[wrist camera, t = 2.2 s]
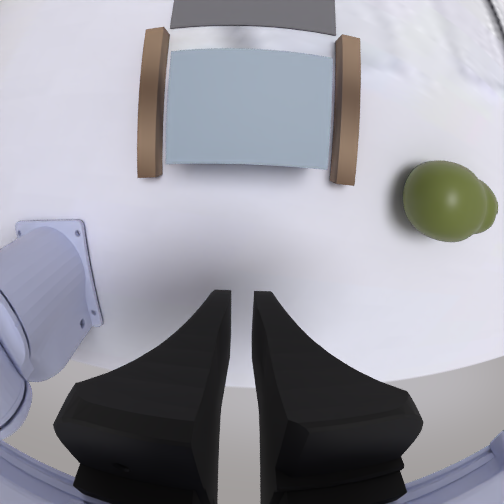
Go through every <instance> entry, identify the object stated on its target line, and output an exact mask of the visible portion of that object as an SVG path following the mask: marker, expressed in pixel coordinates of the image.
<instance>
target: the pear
mask: <svg viewBox="0 0 504 504" xmlns="http://www.w3.org/2000/svg"><path fill="white" fill-rule="evenodd" d="M403 205H404V209H405V213H406V215H407V218H408V219H409V221H410V223H411V224H412V225H413V226H414V227H415V228H416V229H417V230H418V231H419V232H421V233H422V234H424V235H426V236H428V237H430V238H432V239H435V240H439V241H444V242H459V241H462V240H465V239H467V238H468V237H470V236H471V235H473V234H478V233H481V232H484V231H486V230H487V229H489V228H490V227H491V226H492V224H493V223H494V220H495V217H496V214H497V213H498V202H497V200H496V197H495V195H494V193H493V192H492V190H491V189H490V188H489V187H488V186H487V185H486V184H485V183H484V182H482V181H481V180H479V179H478V178H477V177H476V176H475V174H474V173H473V172H471V171H470V170H469V169H467V168H466V167H464V166H462V165H459V164H456V163H453V162H448V161H429V162H425V163H422V164H420V165H419V166H417V167H416V168H415V169H414V170H413V171H412V172H411V173H410V175H409V176H408V178H407V180H406V183H405V186H404V190H403Z"/></svg>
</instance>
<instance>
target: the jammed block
mask: <svg viewBox="0 0 504 504" xmlns="http://www.w3.org/2000/svg"><path fill="white" fill-rule="evenodd" d="M332 74H333V58H330V57H324V56H318V55H312V54H305V53H297V52H288V51H277V50H263V49H235V48H221V49H193V50H180V51H171V59H170V70H169V84H168V100H167V122H166V164H194V163H208V164H251V165H272V166H288V167H301V168H313V169H323V170H328V159H329V145H330V129H331V109H332Z"/></svg>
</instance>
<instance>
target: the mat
mask: <svg viewBox="0 0 504 504" xmlns="http://www.w3.org/2000/svg"><path fill="white" fill-rule="evenodd" d="M214 25H248V26H268V27H280V28H290V29H298V30H306V31H312V32H319V33H324V34H330V35H336V23H335V0H174V5H173V11H172V18H171V25H170V29H172V28H182V27H194V26H214Z"/></svg>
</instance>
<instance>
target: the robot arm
mask: <svg viewBox="0 0 504 504" xmlns="http://www.w3.org/2000/svg"><path fill="white" fill-rule="evenodd" d="M15 227H16V233H17V239H16V240H15V241H13V242H11V243H10V244H8V245H6V246H5V247H3V248H1V249H0V504H217V492H218V456H219V432H220V415H221V406H222V399H223V394H224V388H225V382H226V376H227V370H228V365H229V359H230V343H231V290H214V291H213V292H211V294H210V295H209V297H208V298H207V299H206V300H205V302H204V303H203V304H202V305H201V307H200V308H199V309H198V310H197V311H196V312H195V313H194V314H193V316H192V317H191V318H190V319H189V320H188V321H187V322H186V323H185V324H184V325H183V326H182V327H181V328H179V329H178V330H177V331H176V332H175V333H174V334H173V335H172V336H170V337H169V338H168V339H167V340H165V341H164V342H163V343H162V344H160V345H159V346H157V347H156V348H154V349H153V350H151V351H149V352H148V353H146V354H144V355H143V356H141V357H139V358H138V359H136V360H134V361H132V362H130V363H128V364H126V365H124V366H122V367H120V368H117V369H115V370H113V371H111V372H108V373H106V374H103V375H100V376H97V377H94V378H91V379H88V380H85V381H82V382H79V383H75V385H74V386H73V388H72V390H71V391H70V393H69V394H68V396H67V398H66V400H65V402H64V404H63V406H62V408H61V410H60V412H59V414H58V416H57V418H56V420H55V422H54V424H53V426H54V430H55V433H56V435H57V436H58V438H59V439H60V441H61V442H62V443H63V444H64V446H65V447H66V448H67V449H68V450H69V451H70V453H71V454H72V455H73V456H74V457H75V458H76V459H77V460H78V461H79V463H80V466H79V469H78V471H77V474H76V477H73V476H71V475H69V474H66V473H64V472H61V471H59V470H57V469H55V468H53V467H50V466H48V465H46V464H44V463H42V462H40V461H38V460H36V459H34V458H32V457H30V456H28V455H26V454H25V453H23V452H21V451H19V450H17V449H16V448H14V447H12V446H11V445H9V444H7V443H6V442H4V441H2V439H5V438H7V437H9V436H11V435H12V434H14V433H15V432H16V431H17V430H18V429H19V428H20V426H22V424H23V423H24V421H25V419H26V417H27V415H28V412H29V409H30V406H31V402H32V389H31V386H30V384H29V382H40V381H45V380H47V379H50V378H51V377H53V376H55V375H56V374H57V373H59V372H60V371H61V370H62V369H63V368H64V367H65V365H66V364H67V362H68V361H69V359H70V358H71V356H72V355H73V353H74V352H75V350H76V349H77V347H78V346H79V344H80V343H81V341H82V340H83V339H84V337H85V336H86V334H87V333H88V331H89V330H90V328H91V327H92V326H96V327H100V326H101V325H102V323H103V320H102V317H101V313H100V309H99V305H98V301H97V296H96V292H95V287H94V283H93V278H92V273H91V268H90V262H89V256H88V250H87V244H86V237H85V230H84V224H83V222H82V221H81V220H78V219H76V220H36V221H19V222H17V223H16V225H15ZM77 230H78V231H79V232H80V235H79V234H78V232H77ZM93 310H94V311H95V312H96V313H95V312H94V311H93ZM252 362H253V370H254V377H255V385H256V392H257V399H258V407H259V426H260V478H261V479H260V480H261V481H260V482H261V484H260V487H261V490H260V491H261V504H504V430H503V431H502V432H500V433H499V434H498V435H497V436H496V437H495V438H494V440H492V442H491V443H490V445H489V446H486V447H485V448H483V449H481V450H480V451H478V452H476V453H474V454H472V455H470V456H469V457H467V458H465V459H463V460H461V461H459V462H457V463H455V464H453V465H451V466H449V467H446V468H444V469H442V470H440V471H438V472H435V473H433V474H430V475H428V476H425V477H423V478H420V479H417V480H415V481H412V482H409V483H406V484H404V481H403V478H402V475H401V472H400V470H402V469H403V468H404V463H403V461H402V458H401V456H402V454H403V453H404V452H405V451H406V450H407V449H408V448H409V446H410V445H411V444H412V443H413V442H414V441H415V439H416V438H417V436H418V435H419V433H420V432H421V430H422V426H423V420H422V418H421V416H420V414H419V411H418V409H417V407H416V405H415V403H414V402H413V400H412V398H411V397H410V395H409V394H408V392H407V391H405V390H401V389H399V388H396V387H394V386H391V385H388V384H385V383H383V382H380V381H378V380H375V379H373V378H371V377H369V376H367V375H365V374H363V373H361V372H359V371H357V370H355V369H354V368H352V367H350V366H348V365H347V364H345V363H343V362H342V361H340V360H339V359H337V358H336V357H334V356H333V355H331V354H330V353H328V352H327V351H326V350H324V349H323V348H322V347H321V346H319V345H318V344H317V343H316V342H314V341H313V340H312V339H311V338H310V337H309V336H308V335H307V334H306V333H305V332H304V331H303V330H302V329H301V328H300V327H299V326H298V325H297V324H296V323H295V322H294V320H293V319H292V318H291V317H290V316H289V315H288V313H287V312H286V311H285V310H284V308H283V307H282V306H281V304H280V303H279V302H278V300H277V299H276V297H275V296H274V294H273V293H272V292H271V291H254V303H253V321H252ZM28 381H29V382H28Z"/></svg>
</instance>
